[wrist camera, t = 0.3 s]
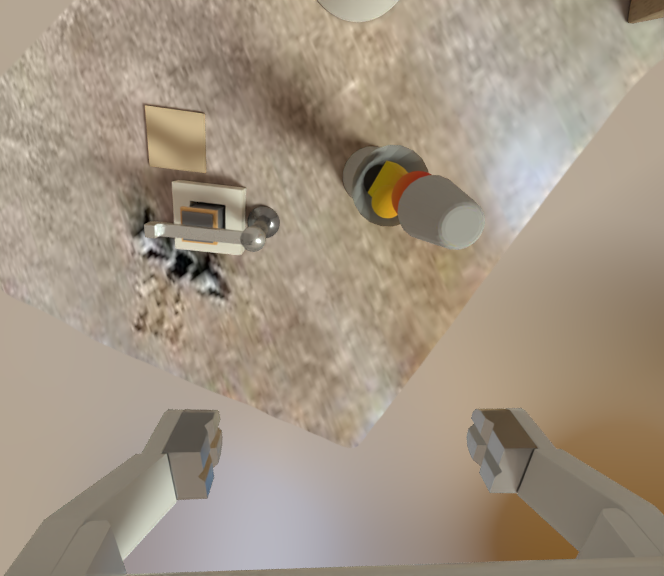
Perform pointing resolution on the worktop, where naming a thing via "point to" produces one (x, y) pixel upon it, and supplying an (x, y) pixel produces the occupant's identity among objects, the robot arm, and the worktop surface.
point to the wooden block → (645, 10)
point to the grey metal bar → (208, 234)
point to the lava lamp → (411, 197)
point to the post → (264, 220)
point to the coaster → (176, 139)
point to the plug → (204, 218)
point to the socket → (217, 194)
